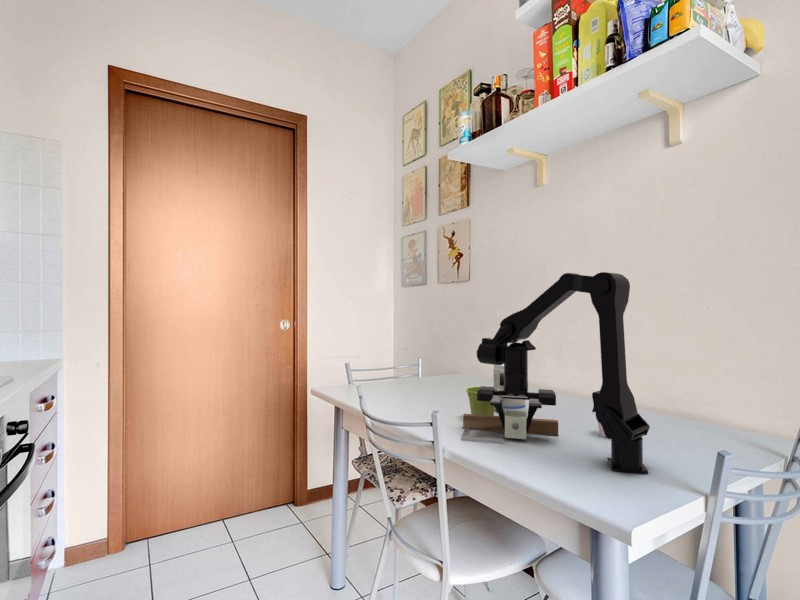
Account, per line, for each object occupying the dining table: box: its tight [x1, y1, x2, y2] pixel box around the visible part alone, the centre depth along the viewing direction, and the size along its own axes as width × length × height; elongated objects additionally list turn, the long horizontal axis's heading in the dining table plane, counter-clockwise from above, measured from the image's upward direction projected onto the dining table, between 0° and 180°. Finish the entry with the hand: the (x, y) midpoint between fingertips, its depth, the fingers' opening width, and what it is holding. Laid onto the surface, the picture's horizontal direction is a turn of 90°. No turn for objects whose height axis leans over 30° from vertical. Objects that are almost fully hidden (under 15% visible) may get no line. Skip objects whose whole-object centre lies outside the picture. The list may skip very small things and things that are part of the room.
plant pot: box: [465, 386, 499, 416], centre depth 127 cm, size 9×9×9 cm
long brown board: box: [462, 413, 559, 437], centre depth 116 cm, size 2×24×4 cm, turn 74°
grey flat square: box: [460, 426, 504, 444], centre depth 111 cm, size 10×10×1 cm
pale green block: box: [504, 410, 527, 440], centre depth 110 cm, size 8×5×5 cm, turn 164°
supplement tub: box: [492, 364, 526, 414], centre depth 138 cm, size 10×10×15 cm
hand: (515, 430), depth 110 cm, fingers closed on pale green block, 5 cm apart
